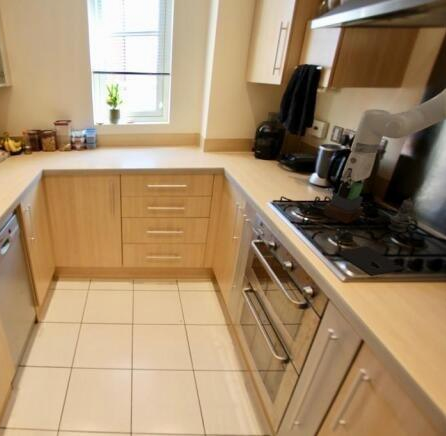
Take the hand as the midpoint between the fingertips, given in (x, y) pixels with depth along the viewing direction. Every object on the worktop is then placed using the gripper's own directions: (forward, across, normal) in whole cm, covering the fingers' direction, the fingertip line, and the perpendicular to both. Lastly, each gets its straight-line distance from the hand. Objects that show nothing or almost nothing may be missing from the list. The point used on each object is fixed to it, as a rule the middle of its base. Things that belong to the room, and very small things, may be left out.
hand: (348, 194), depth 117 cm
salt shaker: (+9, +7, -15) cm, 19 cm away
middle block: (+5, 0, 0) cm, 5 cm away
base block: (+9, 0, 0) cm, 9 cm away
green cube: (+1, 0, 0) cm, 1 cm away
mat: (+9, -22, -21) cm, 32 cm away
